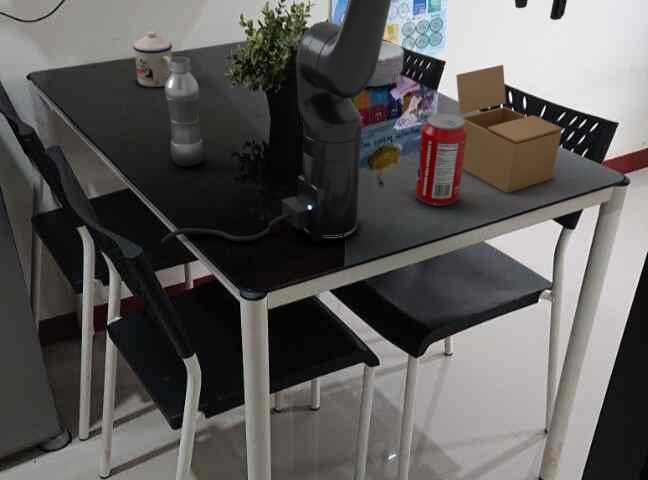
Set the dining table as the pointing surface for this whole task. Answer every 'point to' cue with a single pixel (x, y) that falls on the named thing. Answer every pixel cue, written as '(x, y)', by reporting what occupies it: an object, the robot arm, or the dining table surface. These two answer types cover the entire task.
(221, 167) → the dining table surface
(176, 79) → the plastic bottle
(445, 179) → the soda can
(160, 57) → the teacup with lid
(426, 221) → the dining table surface
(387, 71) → the paper bowls
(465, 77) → the flap
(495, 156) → the carton
